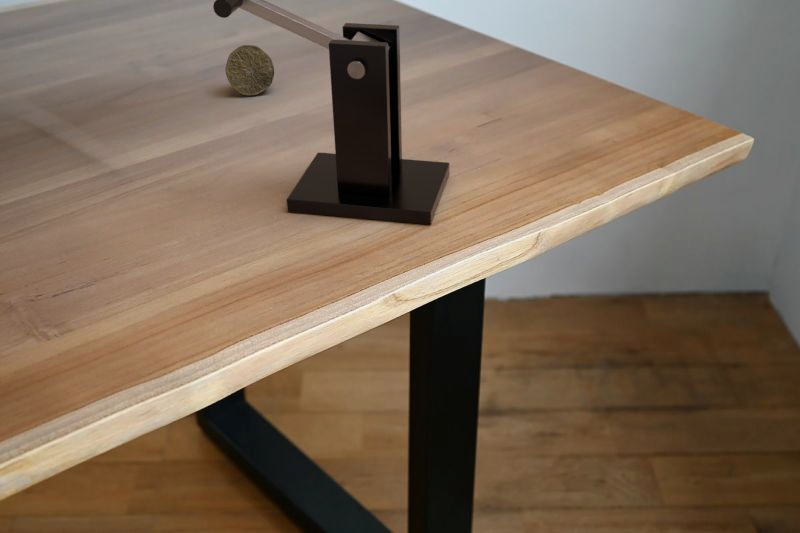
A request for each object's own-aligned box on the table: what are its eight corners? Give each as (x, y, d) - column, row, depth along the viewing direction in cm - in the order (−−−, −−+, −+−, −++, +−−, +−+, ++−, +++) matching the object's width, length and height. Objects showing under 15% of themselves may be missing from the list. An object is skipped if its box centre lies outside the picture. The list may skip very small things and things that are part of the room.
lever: (209, 18, 69) (217, -11, 67) (237, -5, 74) (245, -32, 72) (367, 91, 69) (378, 64, 68) (385, 64, 74) (395, 38, 73)
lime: (282, 90, 97) (278, 44, 94) (246, 103, 94) (240, 57, 92) (256, 80, 100) (251, 35, 97) (220, 92, 97) (214, 47, 94)
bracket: (287, 212, 75) (271, 49, 67) (318, 164, 82) (307, 12, 75) (430, 225, 73) (430, 58, 65) (449, 174, 80) (451, 19, 72)
